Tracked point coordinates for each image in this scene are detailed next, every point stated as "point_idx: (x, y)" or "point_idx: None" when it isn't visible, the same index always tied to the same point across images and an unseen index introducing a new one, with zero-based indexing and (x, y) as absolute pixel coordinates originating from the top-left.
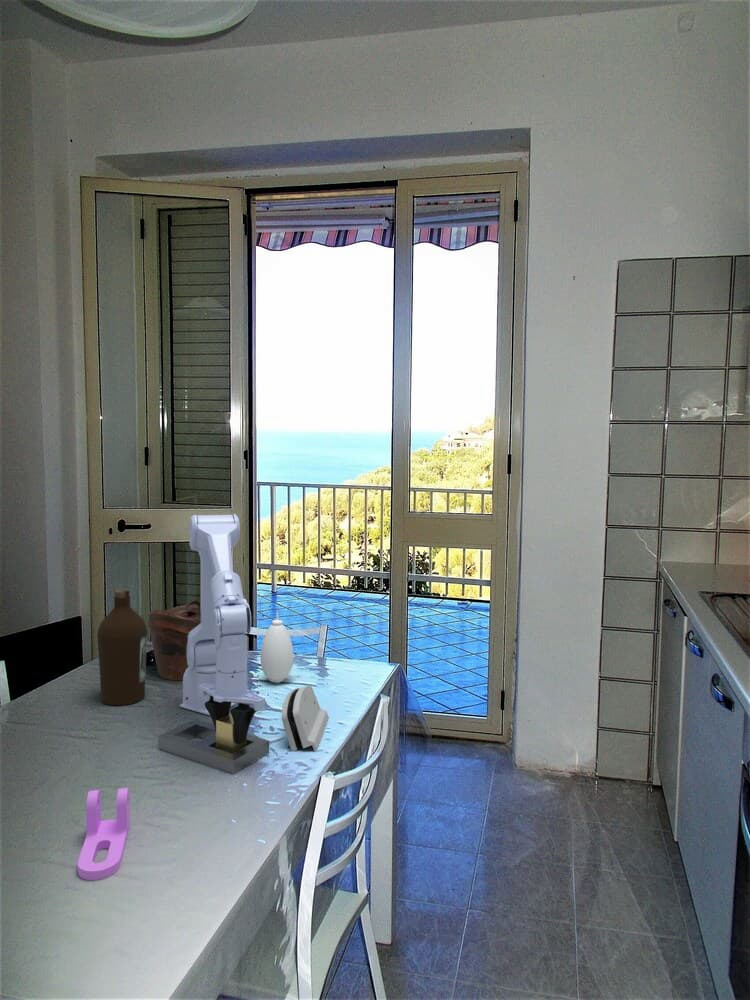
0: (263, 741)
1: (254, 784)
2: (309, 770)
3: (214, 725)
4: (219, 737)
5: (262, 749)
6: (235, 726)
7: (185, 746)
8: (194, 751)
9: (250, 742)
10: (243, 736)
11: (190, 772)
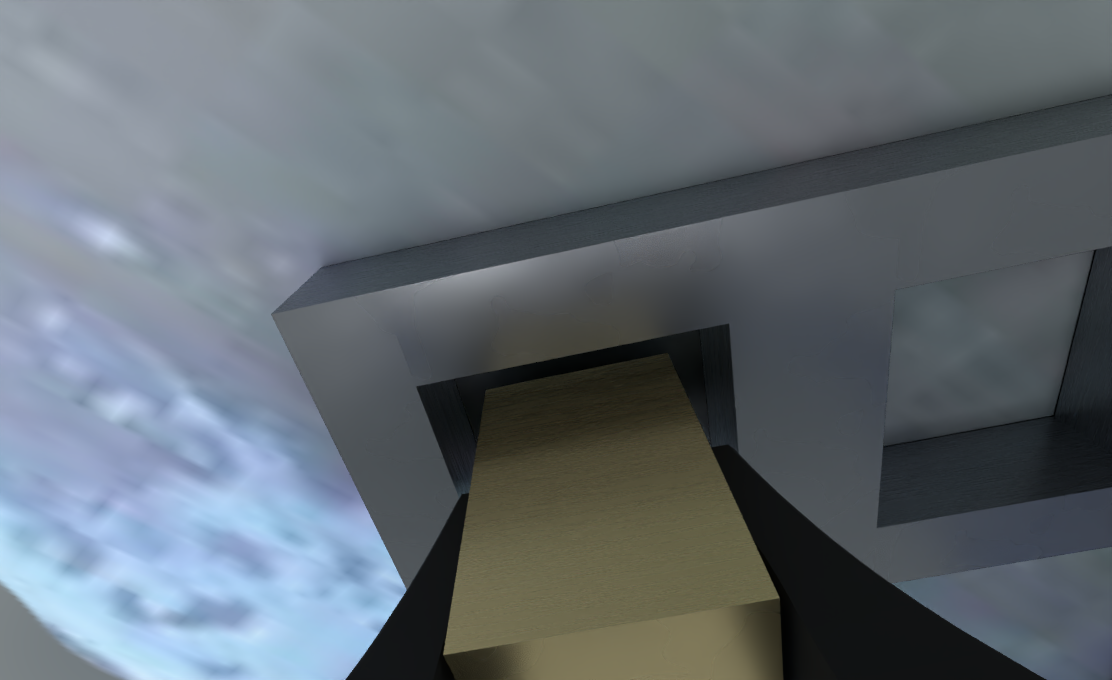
0: None
1: (68, 285)
2: (104, 603)
3: (801, 523)
4: (653, 442)
5: None
6: (416, 652)
7: (940, 165)
8: (793, 190)
9: None
10: None
11: (605, 5)
